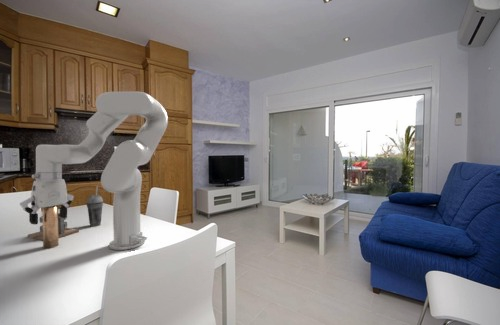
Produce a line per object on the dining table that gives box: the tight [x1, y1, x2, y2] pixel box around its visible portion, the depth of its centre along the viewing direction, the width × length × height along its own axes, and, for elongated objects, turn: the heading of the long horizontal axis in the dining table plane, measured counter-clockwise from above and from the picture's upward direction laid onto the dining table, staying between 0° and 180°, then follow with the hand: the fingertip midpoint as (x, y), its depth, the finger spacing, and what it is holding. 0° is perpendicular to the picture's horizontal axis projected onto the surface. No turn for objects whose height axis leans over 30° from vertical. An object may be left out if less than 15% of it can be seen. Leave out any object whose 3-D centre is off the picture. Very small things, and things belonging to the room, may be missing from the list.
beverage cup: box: [85, 185, 104, 228], centre depth 116 cm, size 7×7×20 cm
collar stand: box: [27, 212, 80, 241], centre depth 102 cm, size 14×12×8 cm
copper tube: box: [41, 205, 59, 250], centre depth 89 cm, size 5×5×18 cm
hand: (49, 220), depth 89 cm, fingers open, 9 cm apart
